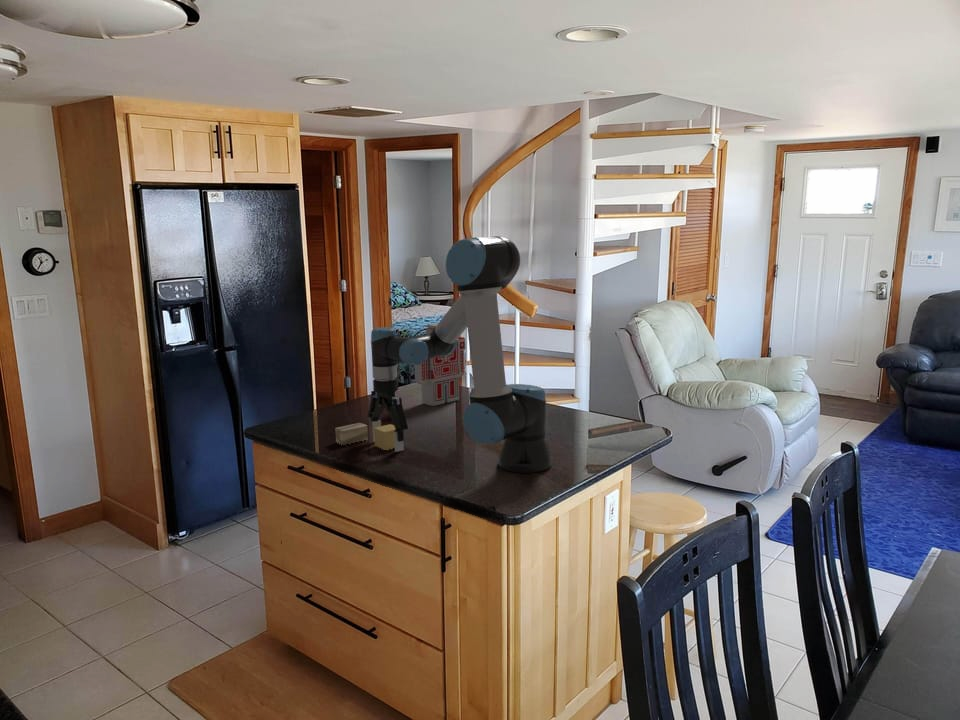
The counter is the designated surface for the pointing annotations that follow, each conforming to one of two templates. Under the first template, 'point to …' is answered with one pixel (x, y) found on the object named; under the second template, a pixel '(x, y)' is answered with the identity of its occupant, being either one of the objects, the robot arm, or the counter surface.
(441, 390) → the toy
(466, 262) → the robot arm
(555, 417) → the counter surface
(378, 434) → the ochre cube
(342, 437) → the birch plinth
